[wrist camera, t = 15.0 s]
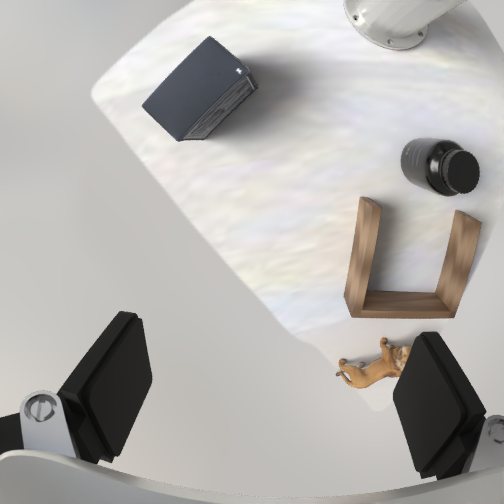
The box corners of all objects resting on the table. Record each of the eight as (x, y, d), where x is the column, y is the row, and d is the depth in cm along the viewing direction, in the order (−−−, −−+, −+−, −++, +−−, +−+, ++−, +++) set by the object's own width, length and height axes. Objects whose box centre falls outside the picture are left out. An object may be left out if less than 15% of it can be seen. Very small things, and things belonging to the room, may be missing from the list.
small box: (225, 55, 35) (209, 31, 25) (260, 87, 36) (254, 70, 26) (169, 110, 38) (137, 104, 28) (202, 142, 39) (179, 144, 29)
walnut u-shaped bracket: (359, 196, 40) (372, 206, 34) (461, 211, 39) (481, 222, 34) (343, 296, 46) (351, 317, 40) (438, 299, 45) (454, 318, 39)
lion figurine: (399, 319, 47) (417, 352, 38) (411, 337, 48) (428, 370, 39) (328, 365, 51) (334, 402, 42) (343, 381, 52) (350, 417, 44)
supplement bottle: (446, 155, 37) (495, 166, 25) (425, 194, 39) (469, 216, 28) (412, 128, 36) (457, 128, 25) (390, 168, 38) (429, 182, 27)
